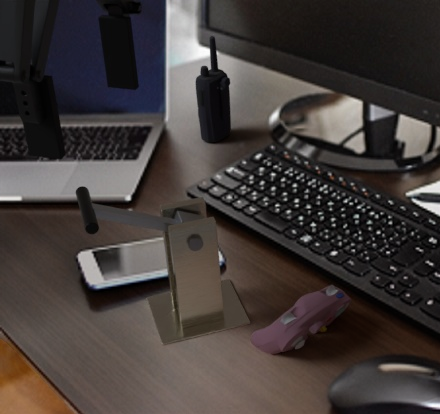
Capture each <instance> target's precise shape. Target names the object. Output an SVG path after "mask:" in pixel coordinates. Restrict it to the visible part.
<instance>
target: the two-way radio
mask: <svg viewBox="0 0 440 414" xmlns="http://www.w3.org/2000/svg"><path fill="white" fill-rule="evenodd" d="M209 59H210V60H209V61H210V69H209V67H208V66H207V65H201V66H200V74H199V75H197V76H196V78H195V91H196V92H195V94H196V103H197V116H198V122H199V128H200V129H199V131H200V138H201V140H202V141H203V142H206V143H213V144H214V143H215V142H220V141H221V140H223V139H224V138H226V137H228V136H229V135H230V134H231V133H232V118H231V117H232V115H231V95H230V94H231V92H230V85H231V79H230V77H229V76H228V73H226V72H225V71H224V70H223V69H219V62H218V51H217V42H216V37H215V36H214V35H210V36H209Z"/></svg>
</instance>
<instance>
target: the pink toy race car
mask: <svg viewBox="0 0 440 414" xmlns="http://www.w3.org/2000/svg"><path fill="white" fill-rule="evenodd" d="M352 300H353V299H351V297H349V295H348V294H347V293H346V292H345V291H344V290H343V289H342V288H339V287H337V286H335V285H334V284H330V285H327V286H326V287H324V288H322V289H319V290H317V291H314V292H313V291H312V292H309V293H306V294H303V295H301V297H299V299H297V300H296V302H295V303H294V305H292V307H290V308H289V309H288V310H287V311H285V312H284V313H282V314H281V315H280V316H279V317H278V318H277V319H275V321H273V322H272V323H271V324H270V325H268V326H266V327H263V328H259V329H257V330H255V331H253V333H252V334H251V336H250V342H251V344H252V346H254V347H255V348H256V349H257V350H259V351H261V352H263V353H265V354H268V355H276V354H280V353H281V352H282V353H284V352H289V351H292V350H293V349H294V350H299V349H301V348H302V347H303V346H304V345H305V342H306V340H308V338H309V335H308V333H309V332H310V333H311V334H313V335H315V334H317V333H318V332H320V333H324V332H326V331H327V329H328V328H327V326H329V325H330V324H332V322H334V321H335V319H337V318H338V317H339V316H340V315H341V314H342V313H343V312H345V311H346V310H347V309H348V308H349V306H350V305H351V303H352Z"/></svg>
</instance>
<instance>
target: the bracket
mask: <svg viewBox="0 0 440 414" xmlns="http://www.w3.org/2000/svg"><path fill="white" fill-rule="evenodd" d="M158 207H159V216H161V217H166V218H171V219H174V217H175V215H176V212H177V211H182V212H187V213H192V214H197V215H202V216H204V219H199V220H194V221H189V222H184V223H179V224H174V225H169V226H168V231H169V232H165V231H161V232H162V239H163V248H164V254H165V262H166V271H167V278H168V286H169V292H164V293H160V294H155V295H151V296H146V301H147V304H148V307H149V310H150V313H151V317H152V319H153V323H154V326H155V328H156V331H157V334H158V337H159V340H160V344H161V345H162V346H165V345H170V344H173V343H178V342H182V341H186V340H190V339H195V338H199V337H203V336H208V335H211V334H215V333H220V332H223V331H227V330H232V329H236V328H240V327H244V326H248V325H251V321H250V319H249V316H248V315H247V313H246V310H245V308H244V306H243V305H242V302H241V301H240V298H239V296H238V294H237V292H236V291H235V287H234V286H233V284H232V282H231V280H230V278H227V279H222V275H221V265H220V264H221V262H220V251H219V242H218V241H219V240H218V229H217V228H218V227H217V221H216V219H215V216H209V217H208V214H207V203H206V199H205V198H204V196H201V197H195V198H190V199H185V200H180V201H179V200H178V201H175V202H170V203H164V204H160V205H159V206H158Z"/></svg>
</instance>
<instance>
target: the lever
mask: <svg viewBox="0 0 440 414" xmlns="http://www.w3.org/2000/svg"><path fill="white" fill-rule="evenodd" d="M75 197H76V200H77V204H78V207H79V211H80V212H79V213H80V216H81V219H82V223H83V228H84V230H85V231H84V232H86V233H87V235H95V234H97V233H98V232H99V230H100V226H99V222H98V220H102V221H106V222H111V223H117V224H123V225H127V226H134V227H138V228H142V229H143V228H144V229H148V230H155V231H159V232H162V231H165V232H169V231H168V226H169V225H174V224H179V223H184V222H189V221H194V220H199V219H204V216H202V215H197V214H192V213H187V212H182V211H177V212H176V215H175V217H174V219H171V218H166V217H161V216H160V215H155V214H150V213H145V212H139V211H135V210H130V209H124V208H119V207H114V206H110V205H109V206H108V205H103V204H98V203H94V202H93V201H92V197H91V194H90V190H89V188H88V187H86V186H84V185H83V186H82V185H81V186H78V187H77V188H76V189H75Z"/></svg>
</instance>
